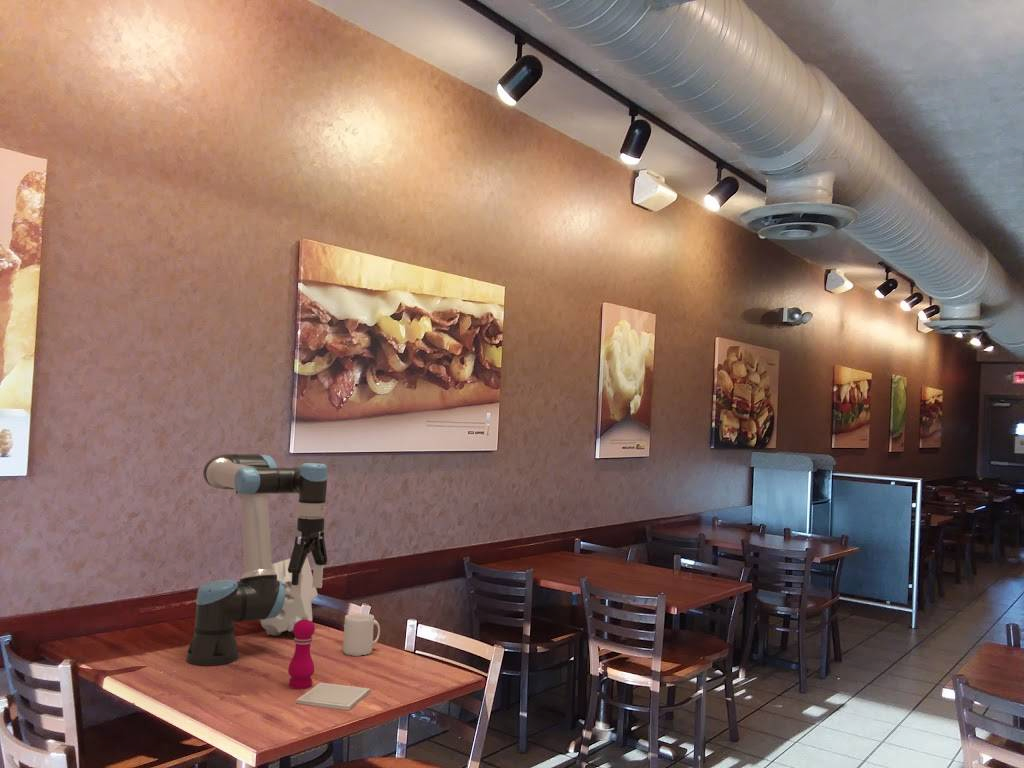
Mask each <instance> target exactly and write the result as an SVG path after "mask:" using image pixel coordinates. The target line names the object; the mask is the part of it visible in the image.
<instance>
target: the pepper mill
mask: <svg viewBox="0 0 1024 768" xmlns="http://www.w3.org/2000/svg"><path fill="white" fill-rule="evenodd" d="M307 619H308V616H307V615H306V614H304V615H302V620H300V621H298V622H296V623H295V625H294V627H293V631H292V633H293V634H294V638H293V639H294V641H293V642H294V644H295V649H294V650H295V651H294V655H293V657H292V659H291V660H290V662H289V666H288V670H287V673H288V675H289V676H290V678H289V681H288V682H289V683H288V686H289V687H290V688H291V689H294V690H301V689H302V690H303V689H308V688H310V687H312V683H313V678H312V676H313V674H314V673H315V664H314V660H313V659H312V655H311V644H312V643H313V637H312V636H313V635H314V633H315V628H316V626H315V624H314V622H313V621H310V620H307Z"/></svg>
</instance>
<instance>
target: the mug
mask: <svg viewBox="0 0 1024 768" xmlns="http://www.w3.org/2000/svg"><path fill="white" fill-rule="evenodd" d="M374 625H375V626H376V628H377V636H376V638H375V640H374ZM343 627H344V628H343V644H342V645H343V646H342V650H343V651H342V652H343V653H344V654H345V655H346V654H347V655H346V656H349V655H352V656H351V657H362V656H361V655H365V656H368V655H370V654H371V653H372V652H373V645H375V644H376V643H377V642H378V641H379V638H380V635H381V627H380V624H379V622H378V621H377V620H376V619H375V615H373V614H371V613H364V612H353V613H352V612H351V613H349V614H346V615H345V616H344V626H343ZM367 654H368V655H367Z"/></svg>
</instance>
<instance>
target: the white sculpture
mask: <svg viewBox="0 0 1024 768" xmlns="http://www.w3.org/2000/svg"><path fill="white" fill-rule="evenodd" d="M290 559H291V557H290V558H287V559H284V560H281V561H278V562H274V563H272V570H273V572H275V573H276V574H277V580H279V581H282V582H283V584H284V587H285V600H284V605H283V608H282V610H281V612H280V613H279V615H278V616H276V617H274V618H269V619H265V620H259V623H260V624H261V628H263V629H264V630H265V631H266V634H267V635H269V636H273V637H277V636H280V635H282V633H283V632H286V631H287V632H288V633H289V632H293V627H294V625H295V623H296V622H298V621H300V620H302V615H304V614H306V615H307V616H308V619H307V620H310V621H311V622H313V610H312V607H313V606H312V601H313V600H314V599H316V598H317V597H318V596H319V595H318V590H317V588H315V587H312V585H313V572H312V569H311V565H310V562H309V558H308V556H307V557H306V559H305V562H304V565H303V567H302V570H301V572H300V573H302V584H301V597H292V596H291V580H292V573H289V572H288V567H289V563H290Z"/></svg>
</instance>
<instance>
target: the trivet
mask: <svg viewBox="0 0 1024 768" xmlns="http://www.w3.org/2000/svg"><path fill="white" fill-rule="evenodd" d="M370 693H371V688H369V687H367V688H365V687H359V686H352V685H344V684H335V683H327V682H320V683H318V684H317V685H315V686H314V687H312V688H311V689H309V690H308V691H307V692H305V693H304V694H303V695H301V696H299V697H298V698H297V699H296V701H295V704H298V705H306V706H312V707H313V706H314V707H320V708H327V709H332V710H333V709H335V710H343V711H350V710H351V709H352V708H353V707H355V706H356V705H357V704H358V703H359V702H360V701H362V700H363V699H364V698H365V697H366V696H368V695H369V694H370Z"/></svg>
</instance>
